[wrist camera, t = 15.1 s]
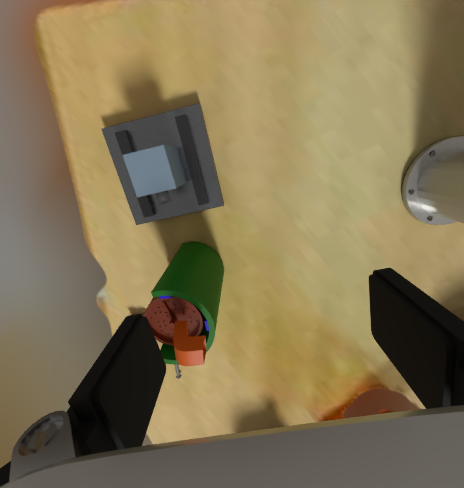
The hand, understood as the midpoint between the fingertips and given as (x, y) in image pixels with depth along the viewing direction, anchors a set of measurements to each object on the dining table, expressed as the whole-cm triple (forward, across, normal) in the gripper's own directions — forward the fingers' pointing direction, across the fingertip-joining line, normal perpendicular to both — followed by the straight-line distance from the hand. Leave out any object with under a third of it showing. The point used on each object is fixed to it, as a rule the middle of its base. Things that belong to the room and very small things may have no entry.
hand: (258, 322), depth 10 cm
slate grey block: (+29, +10, -7) cm, 31 cm away
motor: (+31, +10, +10) cm, 34 cm away
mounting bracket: (+30, +10, -7) cm, 33 cm away
